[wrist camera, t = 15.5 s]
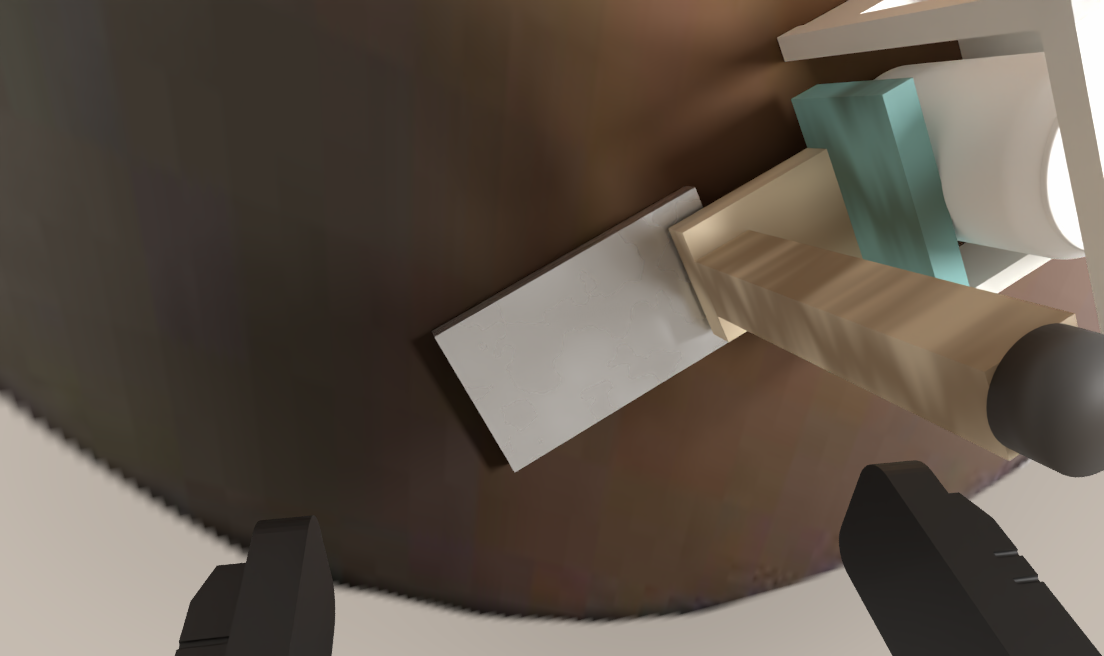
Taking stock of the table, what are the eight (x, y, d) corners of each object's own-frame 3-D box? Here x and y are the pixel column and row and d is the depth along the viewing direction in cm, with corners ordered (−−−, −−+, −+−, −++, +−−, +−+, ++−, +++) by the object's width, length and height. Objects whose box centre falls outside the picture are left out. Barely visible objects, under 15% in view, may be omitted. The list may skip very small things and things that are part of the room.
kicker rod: (642, 183, 34) (992, 253, 16) (816, 84, 35) (1322, 47, 17) (726, 377, 38) (1081, 604, 20) (880, 282, 39) (1345, 417, 21)
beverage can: (827, 236, 39) (1027, 282, 28) (827, 74, 37) (1045, 54, 26) (955, 213, 41) (1188, 247, 30) (962, 57, 39) (1220, 32, 28)
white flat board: (431, 331, 34) (434, 337, 33) (685, 185, 36) (694, 187, 35) (510, 463, 37) (514, 472, 36) (741, 322, 39) (752, 327, 38)
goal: (776, 37, 35) (1068, -16, 22) (951, -60, 37) (1332, -169, 23) (871, 320, 41) (1148, 422, 27) (1019, 228, 43) (1355, 280, 29)
